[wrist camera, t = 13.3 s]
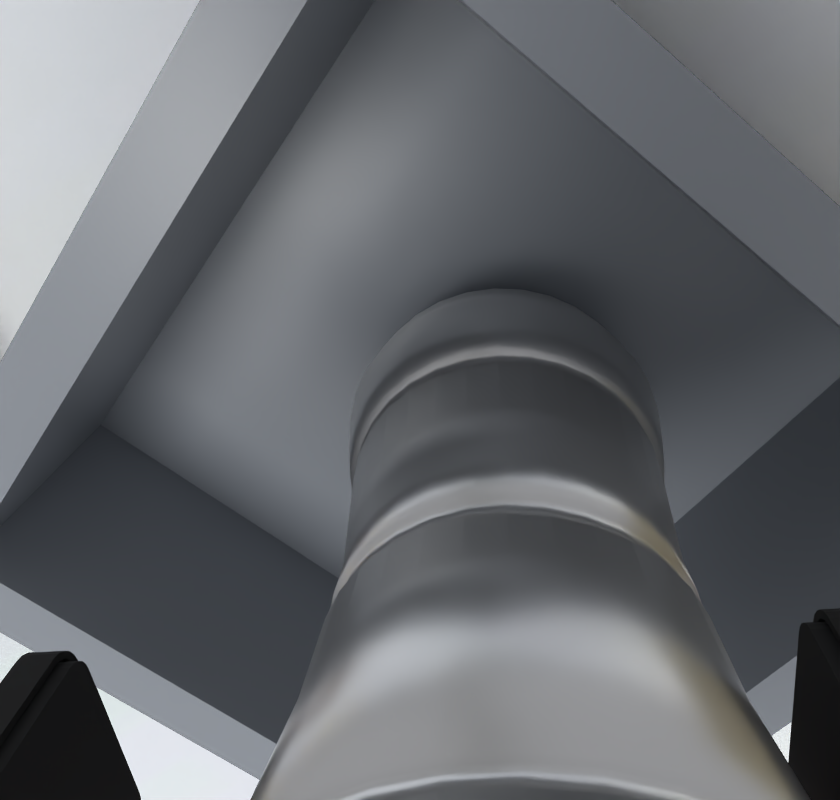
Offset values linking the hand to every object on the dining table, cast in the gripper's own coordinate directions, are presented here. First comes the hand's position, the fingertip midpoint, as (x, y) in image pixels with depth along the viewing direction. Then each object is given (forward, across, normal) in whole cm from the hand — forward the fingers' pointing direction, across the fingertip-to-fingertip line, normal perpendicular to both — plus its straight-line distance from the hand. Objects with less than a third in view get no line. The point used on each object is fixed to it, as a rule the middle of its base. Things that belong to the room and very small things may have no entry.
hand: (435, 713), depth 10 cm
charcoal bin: (+11, 0, 0) cm, 11 cm away
